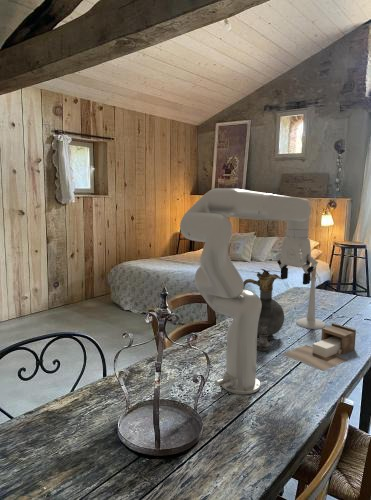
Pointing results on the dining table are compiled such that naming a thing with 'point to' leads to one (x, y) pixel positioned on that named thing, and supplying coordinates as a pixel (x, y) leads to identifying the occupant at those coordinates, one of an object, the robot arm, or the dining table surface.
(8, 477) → the dining table surface
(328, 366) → the open wooden box
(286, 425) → the dining table surface
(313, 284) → the candlestick
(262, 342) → the salt shaker
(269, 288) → the pitcher
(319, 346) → the soap bar
